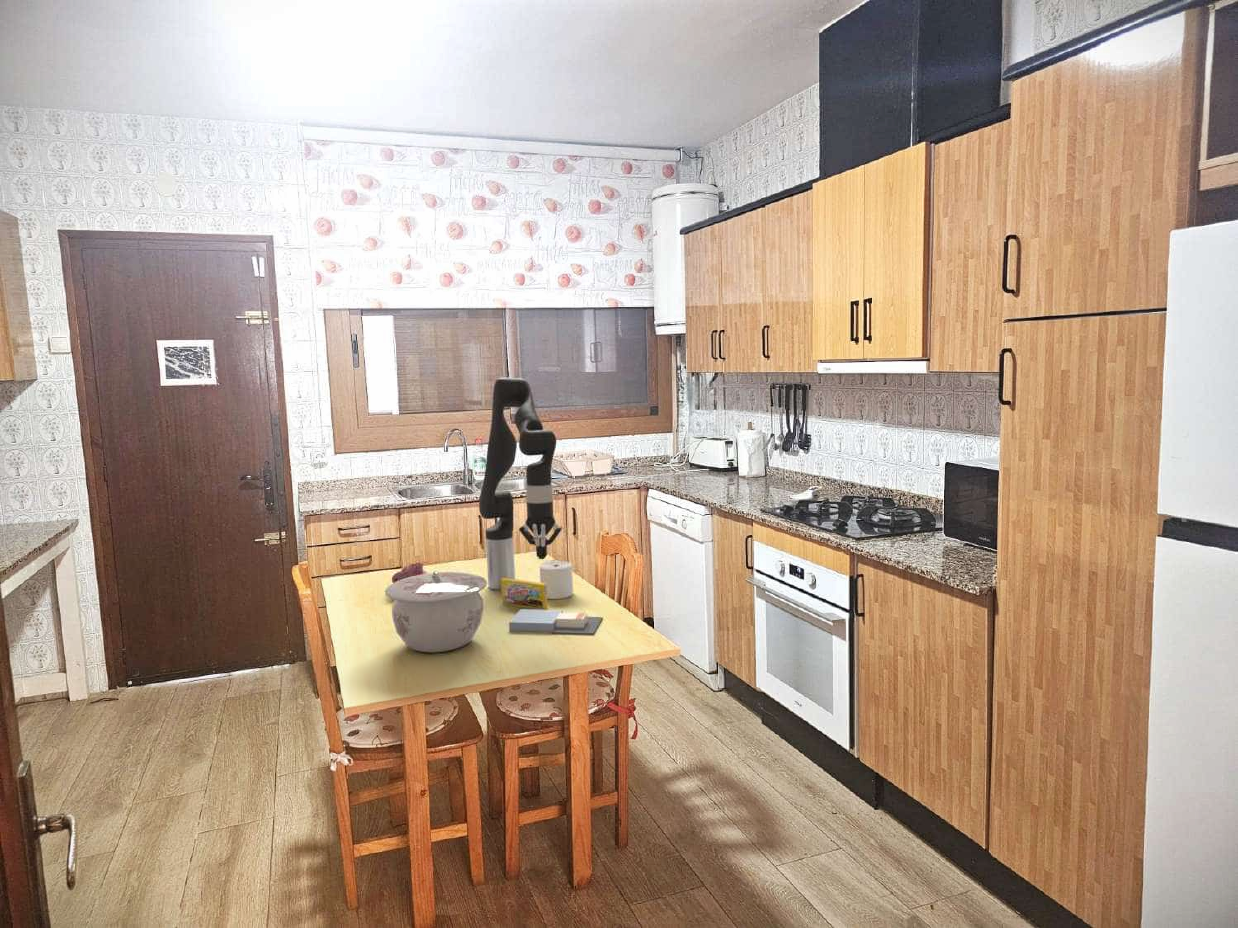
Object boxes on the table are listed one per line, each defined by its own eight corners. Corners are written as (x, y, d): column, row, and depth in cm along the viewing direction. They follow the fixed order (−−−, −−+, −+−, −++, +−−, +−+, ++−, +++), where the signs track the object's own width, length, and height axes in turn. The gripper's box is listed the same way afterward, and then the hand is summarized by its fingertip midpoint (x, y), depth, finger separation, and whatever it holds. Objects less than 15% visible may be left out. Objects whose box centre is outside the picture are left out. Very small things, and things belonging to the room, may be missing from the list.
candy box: (501, 604, 258) (500, 579, 257) (505, 602, 260) (504, 577, 259) (544, 610, 251) (543, 584, 249) (548, 608, 252) (546, 582, 251)
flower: (442, 577, 281) (431, 551, 278) (432, 594, 267) (421, 568, 264) (403, 589, 282) (392, 564, 280) (391, 607, 268) (379, 581, 266)
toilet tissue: (553, 601, 259) (552, 571, 258) (532, 594, 268) (530, 564, 267) (579, 594, 266) (578, 564, 264) (558, 587, 275) (556, 558, 273)
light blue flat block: (521, 617, 244) (520, 609, 244) (562, 618, 242) (562, 610, 242) (509, 630, 232) (508, 622, 232) (553, 631, 230) (553, 623, 230)
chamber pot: (444, 669, 205) (439, 590, 202) (366, 653, 218) (361, 578, 215) (511, 635, 229) (508, 563, 226) (437, 621, 242) (433, 554, 239)
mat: (563, 617, 243) (563, 616, 242) (602, 618, 241) (602, 616, 241) (552, 633, 229) (552, 631, 229) (593, 634, 227) (593, 633, 227)
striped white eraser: (560, 620, 238) (560, 612, 238) (587, 621, 237) (586, 612, 237) (556, 627, 233) (555, 618, 232) (583, 627, 231) (582, 619, 231)
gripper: (565, 497, 234) (567, 555, 237) (521, 497, 236) (523, 554, 239) (559, 502, 227) (561, 562, 229) (513, 501, 229) (516, 561, 232)
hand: (541, 558), depth 234 cm, fingers closed
